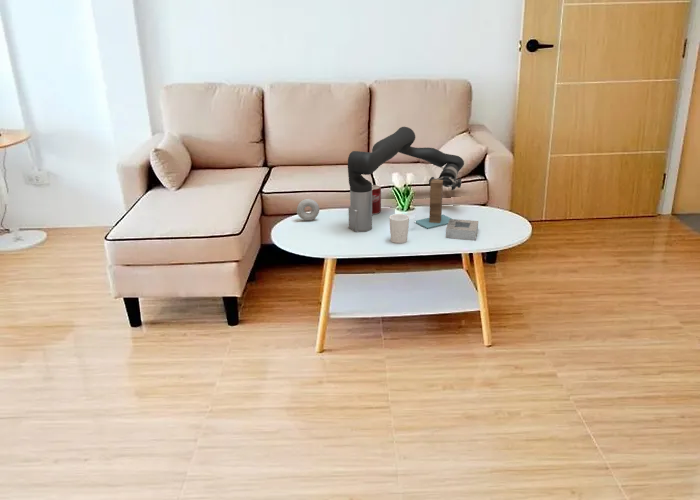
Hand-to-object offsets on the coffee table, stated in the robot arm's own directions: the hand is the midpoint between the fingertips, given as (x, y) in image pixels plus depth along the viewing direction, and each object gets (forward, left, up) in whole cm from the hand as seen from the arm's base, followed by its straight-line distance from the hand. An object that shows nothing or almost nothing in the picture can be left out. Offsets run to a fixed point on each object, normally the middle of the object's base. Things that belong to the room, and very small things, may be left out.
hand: (442, 187), depth 276 cm
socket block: (-7, -23, -13) cm, 27 cm away
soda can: (-24, +20, -13) cm, 34 cm away
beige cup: (-33, -15, -13) cm, 38 cm away
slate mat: (-8, -6, -13) cm, 16 cm away
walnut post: (-8, -6, -12) cm, 16 cm away
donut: (-54, +26, -13) cm, 61 cm away
